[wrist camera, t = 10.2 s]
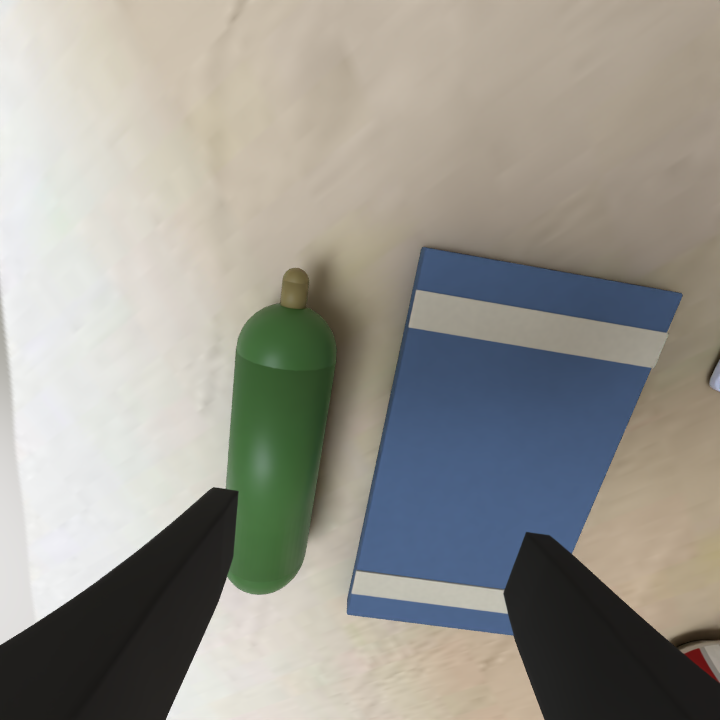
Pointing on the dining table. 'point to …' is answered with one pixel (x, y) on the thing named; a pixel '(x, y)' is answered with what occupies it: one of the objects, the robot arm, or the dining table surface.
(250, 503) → the courgette
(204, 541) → the robot arm
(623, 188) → the dining table surface
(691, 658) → the soda can
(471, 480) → the towel
